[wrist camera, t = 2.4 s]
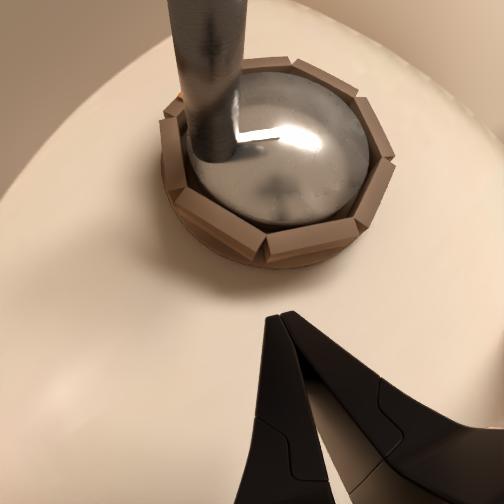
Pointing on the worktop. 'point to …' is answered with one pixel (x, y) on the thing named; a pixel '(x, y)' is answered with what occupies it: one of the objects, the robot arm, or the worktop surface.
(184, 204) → the dial housing
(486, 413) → the worktop surface
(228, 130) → the dial
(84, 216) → the worktop surface
